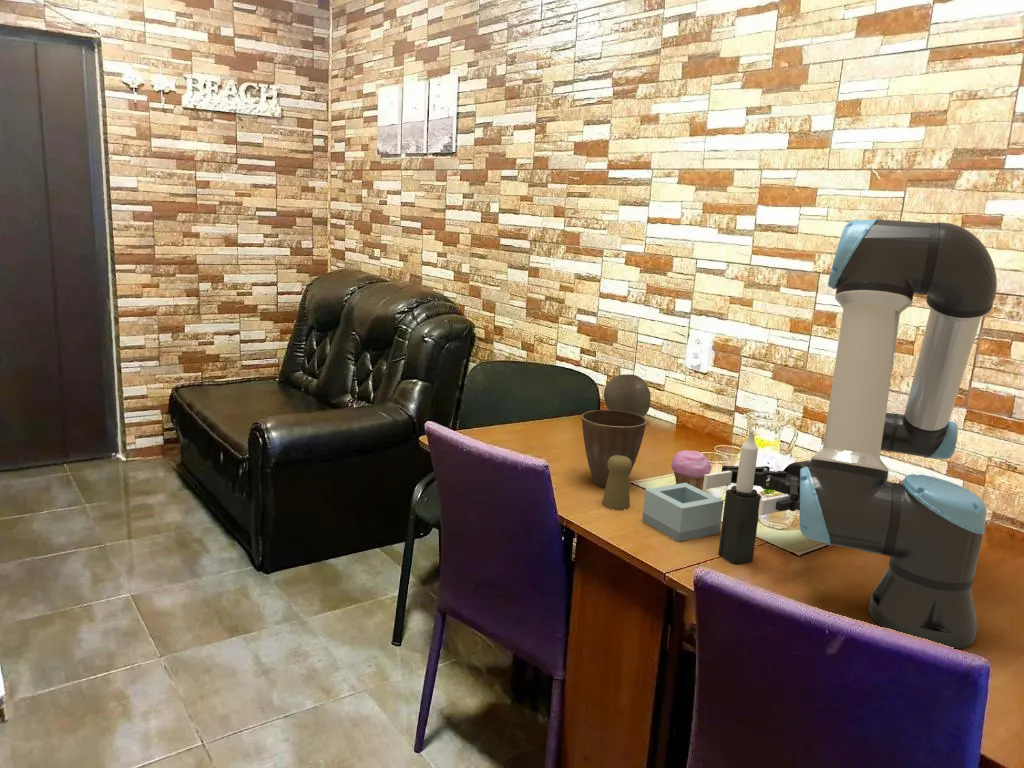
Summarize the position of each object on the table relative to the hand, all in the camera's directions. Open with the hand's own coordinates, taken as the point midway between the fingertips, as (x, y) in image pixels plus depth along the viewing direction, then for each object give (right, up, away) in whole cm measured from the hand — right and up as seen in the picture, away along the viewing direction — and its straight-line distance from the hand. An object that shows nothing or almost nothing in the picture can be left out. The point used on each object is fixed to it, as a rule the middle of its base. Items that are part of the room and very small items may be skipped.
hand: (731, 494), depth 135 cm
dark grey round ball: (-5, +8, +96) cm, 97 cm away
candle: (+2, -13, +4) cm, 14 cm away
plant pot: (-17, -4, +41) cm, 44 cm away
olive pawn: (-17, -7, +27) cm, 33 cm away
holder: (-5, -9, +17) cm, 20 cm away
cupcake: (+1, -5, +37) cm, 38 cm away
